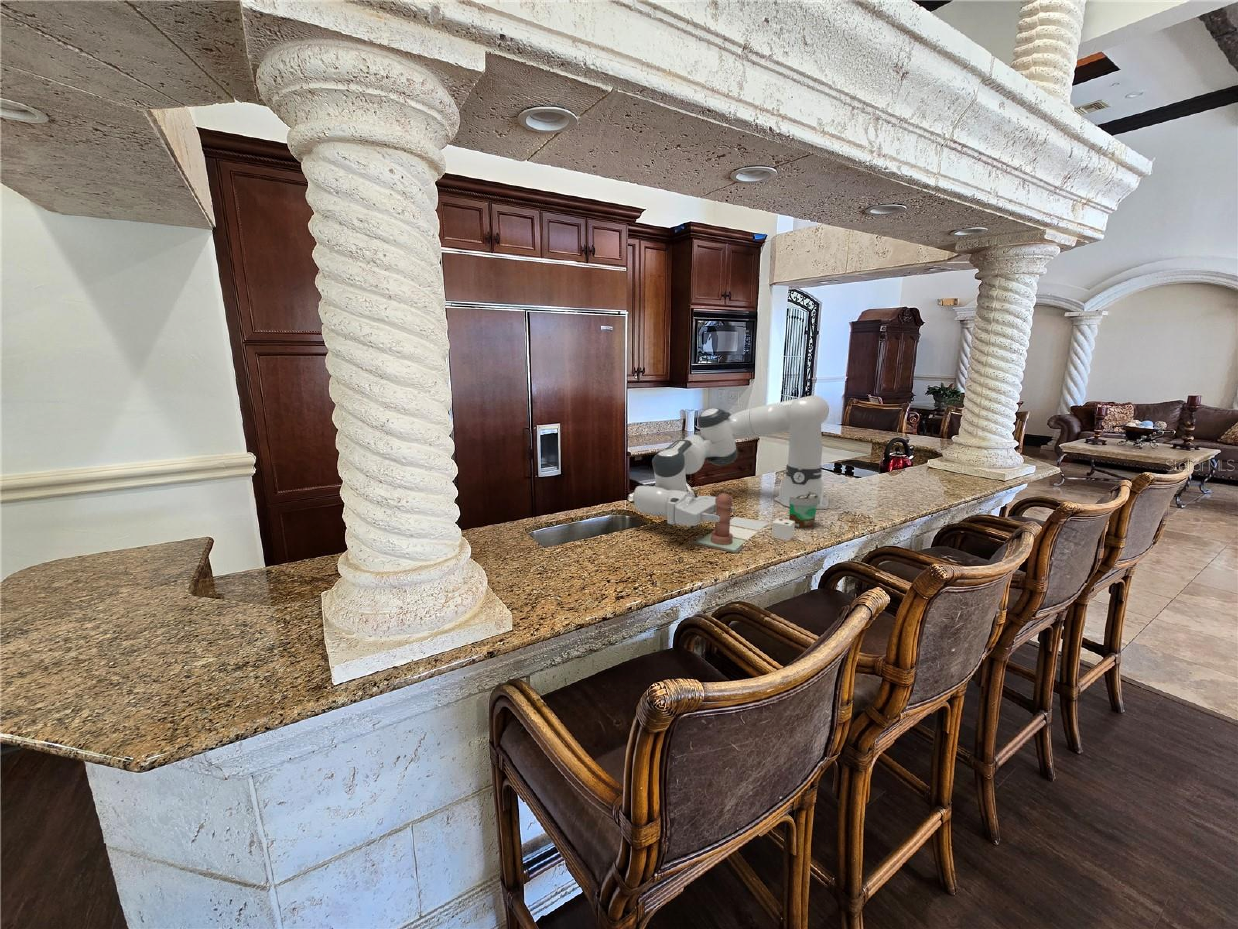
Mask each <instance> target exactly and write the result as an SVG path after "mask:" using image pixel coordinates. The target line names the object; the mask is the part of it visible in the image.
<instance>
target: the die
mask: <svg viewBox="0 0 1238 929" xmlns="http://www.w3.org/2000/svg"><path fill="white" fill-rule="evenodd" d="M771 524H772V526H771V536H770V537H771V539H775V540H779V541H780V540H781V541H786V542H790V540H792V539H793V537H794V536H795V527H794V526H795V521H791V520H789V519H785V518H779V517H777V518H776V519H775V520H774V521H772V523H771Z"/></svg>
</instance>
